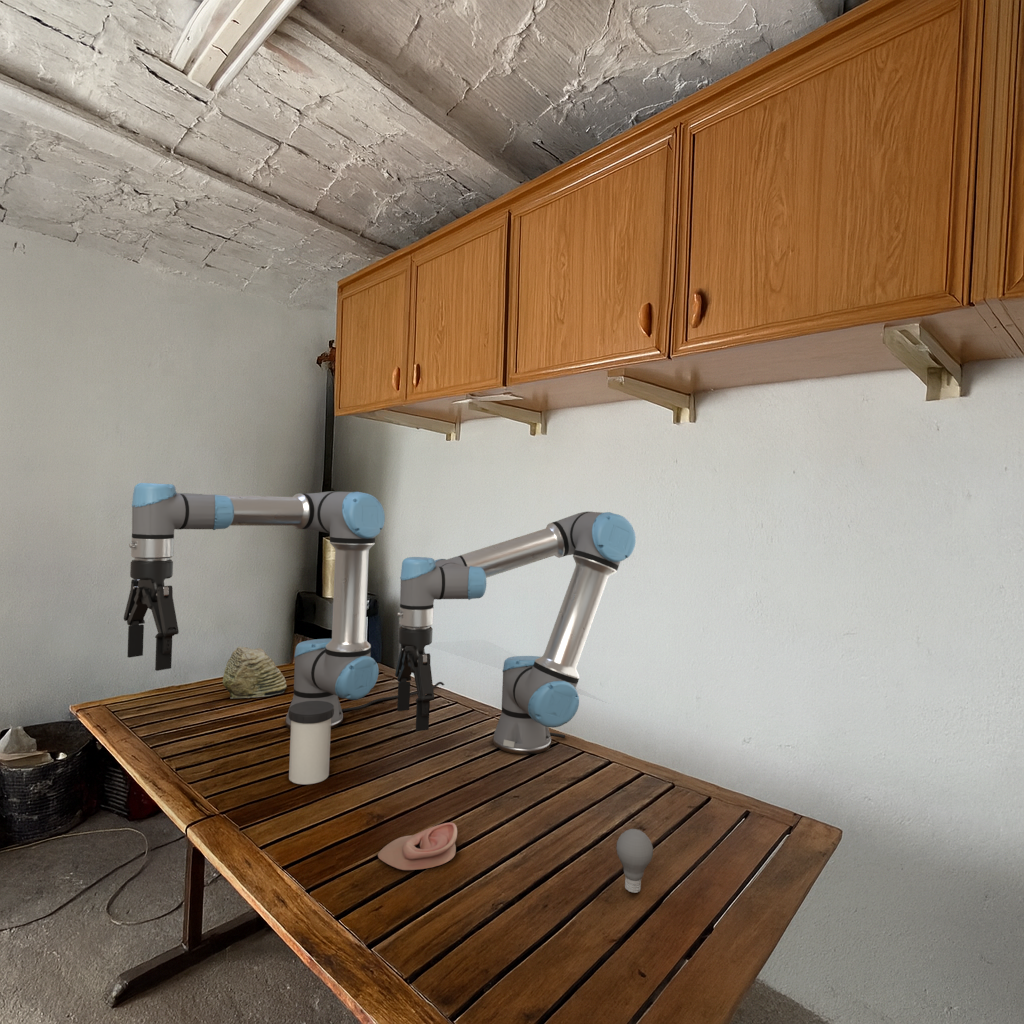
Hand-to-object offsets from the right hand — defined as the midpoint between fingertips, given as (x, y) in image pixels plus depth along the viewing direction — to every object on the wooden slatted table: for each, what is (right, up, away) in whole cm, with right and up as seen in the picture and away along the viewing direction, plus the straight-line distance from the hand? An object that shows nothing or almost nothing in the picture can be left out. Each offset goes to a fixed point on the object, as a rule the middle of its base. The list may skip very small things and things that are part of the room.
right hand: (412, 719), depth 143 cm
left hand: (-52, +16, -14) cm, 56 cm away
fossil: (-58, -10, +55) cm, 81 cm away
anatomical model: (+6, -15, -29) cm, 33 cm away
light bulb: (+43, -16, -37) cm, 59 cm away
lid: (-23, +2, 0) cm, 23 cm away
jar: (-23, -13, 0) cm, 27 cm away
